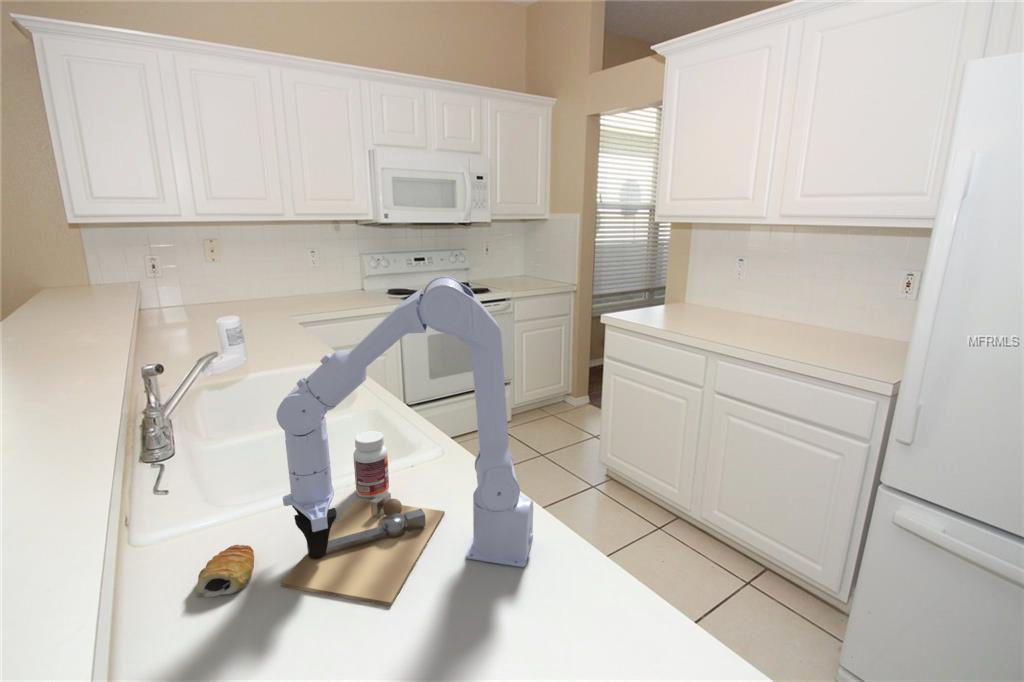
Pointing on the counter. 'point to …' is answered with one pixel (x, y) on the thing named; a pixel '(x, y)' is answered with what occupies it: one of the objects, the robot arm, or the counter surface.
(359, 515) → the board
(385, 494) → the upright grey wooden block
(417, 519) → the lever
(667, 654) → the counter surface
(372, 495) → the pill bottle
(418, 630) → the counter surface
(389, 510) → the brown ball
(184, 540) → the counter surface
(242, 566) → the pastry
